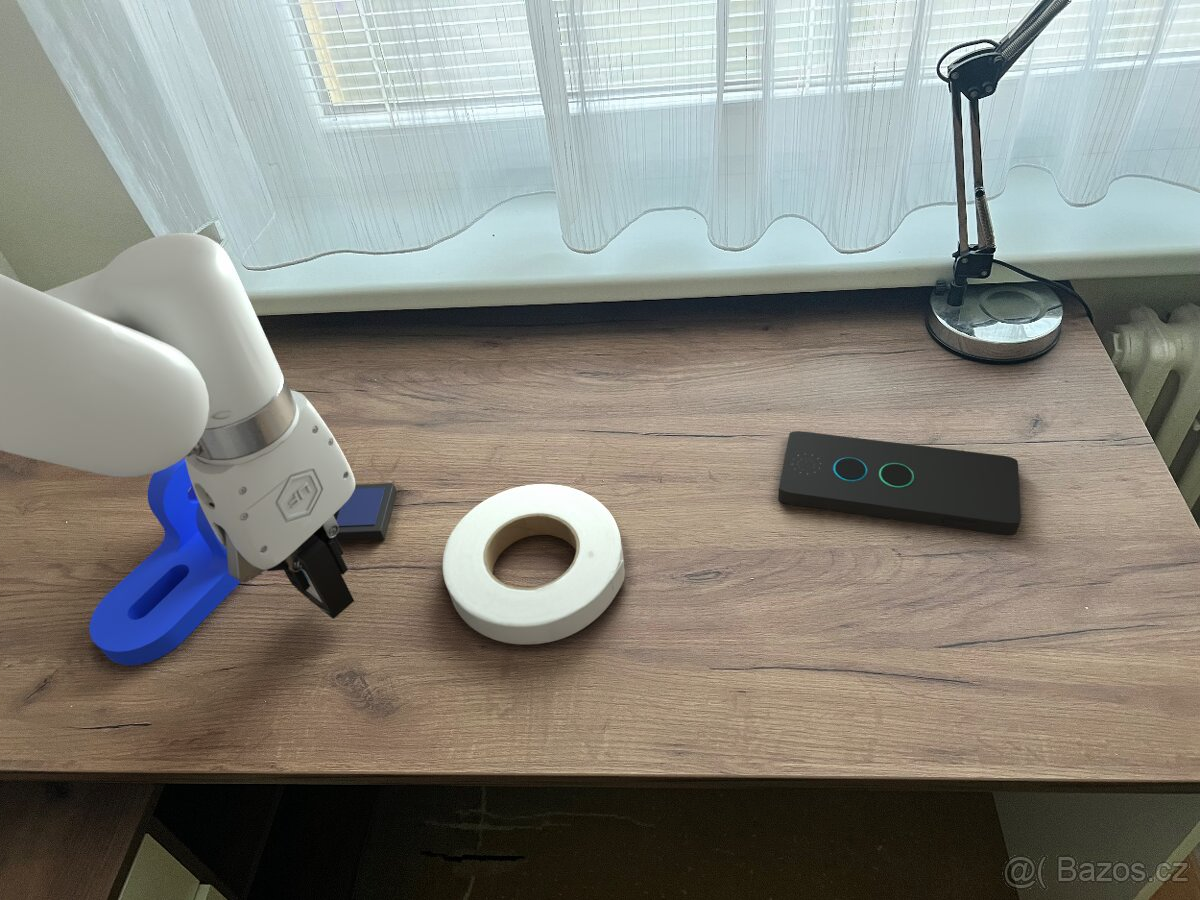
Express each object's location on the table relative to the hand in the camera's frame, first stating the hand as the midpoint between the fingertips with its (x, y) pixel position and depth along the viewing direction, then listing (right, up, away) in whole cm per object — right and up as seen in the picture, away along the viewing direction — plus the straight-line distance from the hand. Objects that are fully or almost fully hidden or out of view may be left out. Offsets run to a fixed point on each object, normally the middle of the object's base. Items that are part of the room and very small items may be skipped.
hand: (322, 575), depth 72 cm
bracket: (-14, -2, +7) cm, 15 cm away
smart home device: (+50, +7, +7) cm, 51 cm away
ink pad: (-1, +4, +10) cm, 11 cm away
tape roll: (+18, 0, +4) cm, 18 cm away
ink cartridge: (0, -2, +2) cm, 3 cm away
